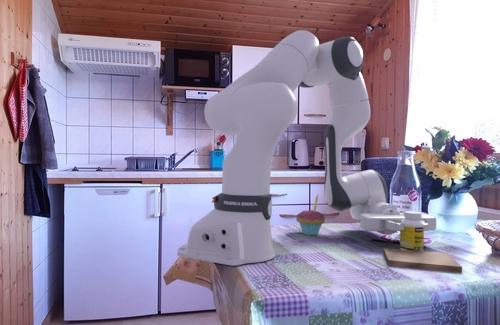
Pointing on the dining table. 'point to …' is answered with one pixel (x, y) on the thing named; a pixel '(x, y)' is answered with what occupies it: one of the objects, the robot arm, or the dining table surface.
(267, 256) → the robot arm
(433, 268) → the serving board
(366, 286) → the dining table surface
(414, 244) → the supplement bottle
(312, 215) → the cupcake
